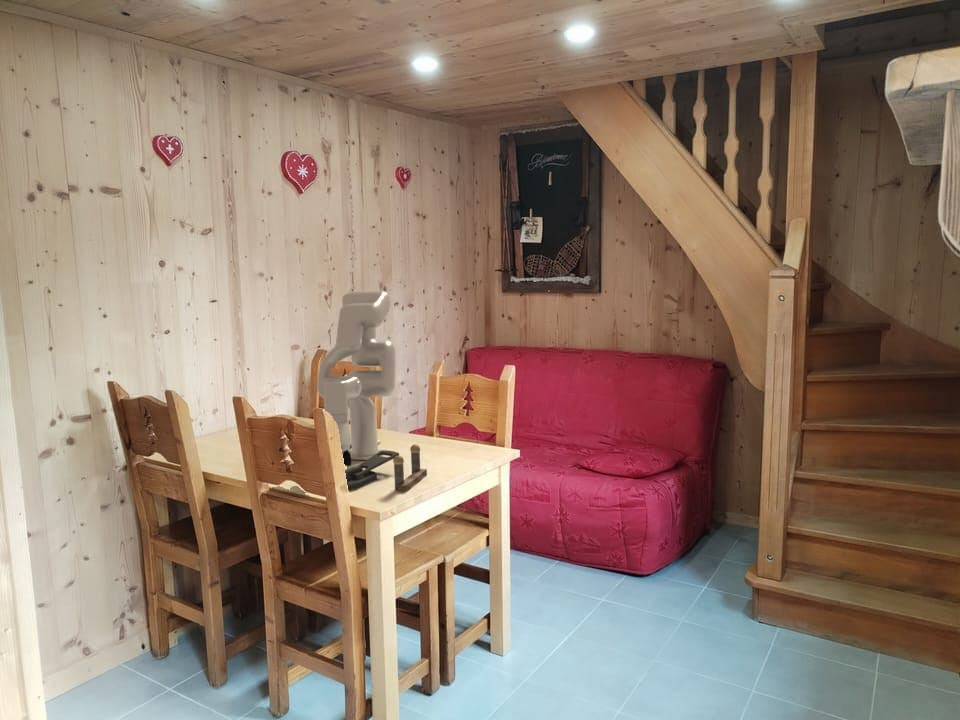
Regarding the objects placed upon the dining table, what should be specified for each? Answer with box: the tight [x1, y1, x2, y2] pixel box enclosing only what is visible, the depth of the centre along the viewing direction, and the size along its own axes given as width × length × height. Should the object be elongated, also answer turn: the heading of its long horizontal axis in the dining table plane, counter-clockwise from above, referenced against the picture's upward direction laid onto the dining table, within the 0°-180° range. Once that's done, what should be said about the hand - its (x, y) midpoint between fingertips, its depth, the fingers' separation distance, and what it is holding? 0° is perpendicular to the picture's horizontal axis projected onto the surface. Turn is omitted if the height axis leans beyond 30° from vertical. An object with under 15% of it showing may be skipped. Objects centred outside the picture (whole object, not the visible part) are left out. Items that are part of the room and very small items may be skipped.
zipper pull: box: [344, 449, 400, 492], centre depth 216 cm, size 9×7×25 cm
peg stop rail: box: [392, 444, 428, 493], centre depth 210 cm, size 18×5×11 cm, turn 164°
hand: (339, 469), depth 217 cm, fingers open, 9 cm apart
